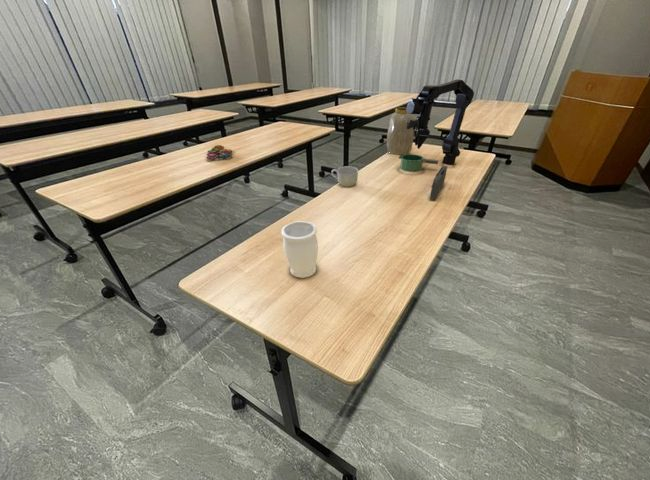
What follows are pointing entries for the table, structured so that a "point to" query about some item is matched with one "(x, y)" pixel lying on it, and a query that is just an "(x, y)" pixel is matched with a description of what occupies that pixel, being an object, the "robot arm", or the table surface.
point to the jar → (300, 247)
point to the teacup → (346, 175)
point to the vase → (400, 133)
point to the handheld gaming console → (438, 182)
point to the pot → (414, 162)
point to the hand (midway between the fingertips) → (417, 147)
